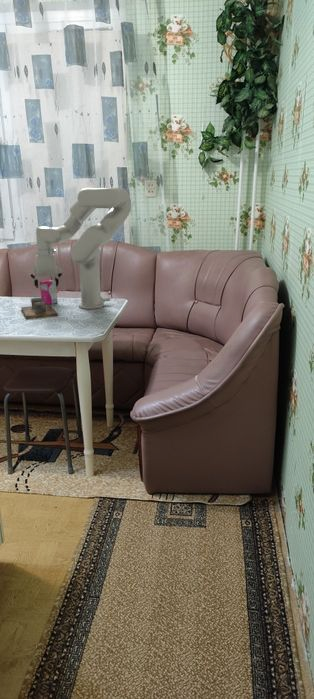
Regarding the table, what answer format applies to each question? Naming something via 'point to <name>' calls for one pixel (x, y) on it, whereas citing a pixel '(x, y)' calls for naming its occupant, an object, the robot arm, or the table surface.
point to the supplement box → (48, 292)
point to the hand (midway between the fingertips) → (46, 286)
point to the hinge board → (38, 309)
